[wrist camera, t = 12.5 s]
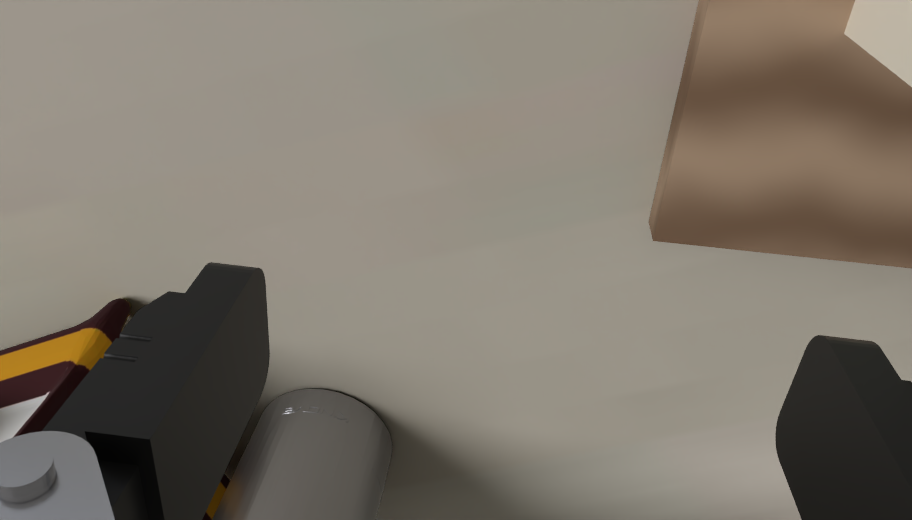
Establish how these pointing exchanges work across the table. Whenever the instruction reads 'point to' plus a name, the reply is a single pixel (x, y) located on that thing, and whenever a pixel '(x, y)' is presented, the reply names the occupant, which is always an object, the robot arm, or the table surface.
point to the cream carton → (884, 33)
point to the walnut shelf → (787, 138)
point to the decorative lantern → (60, 375)
